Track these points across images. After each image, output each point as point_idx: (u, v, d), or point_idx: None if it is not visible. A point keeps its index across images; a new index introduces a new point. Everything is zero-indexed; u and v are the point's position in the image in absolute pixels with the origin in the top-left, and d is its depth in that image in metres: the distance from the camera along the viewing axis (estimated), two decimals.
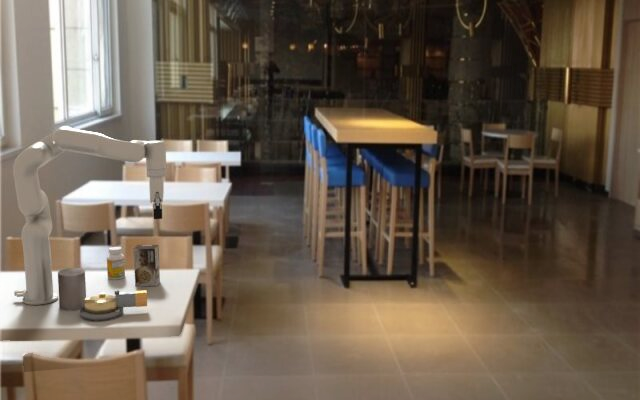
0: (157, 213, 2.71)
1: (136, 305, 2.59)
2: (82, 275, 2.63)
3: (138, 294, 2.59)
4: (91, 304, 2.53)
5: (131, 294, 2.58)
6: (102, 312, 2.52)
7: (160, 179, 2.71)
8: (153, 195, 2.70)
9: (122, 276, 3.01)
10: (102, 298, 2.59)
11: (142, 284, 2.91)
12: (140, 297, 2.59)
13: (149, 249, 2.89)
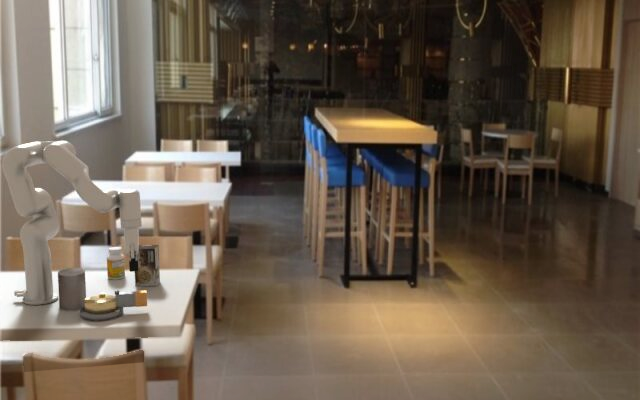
0: (133, 265, 2.65)
1: (136, 305, 2.59)
2: (82, 275, 2.63)
3: (138, 294, 2.59)
4: (91, 304, 2.53)
5: (131, 294, 2.58)
6: (102, 312, 2.52)
7: (134, 230, 2.60)
8: (128, 247, 2.60)
9: (122, 276, 3.01)
10: (102, 298, 2.59)
11: (142, 284, 2.91)
12: (140, 297, 2.59)
13: (149, 249, 2.89)
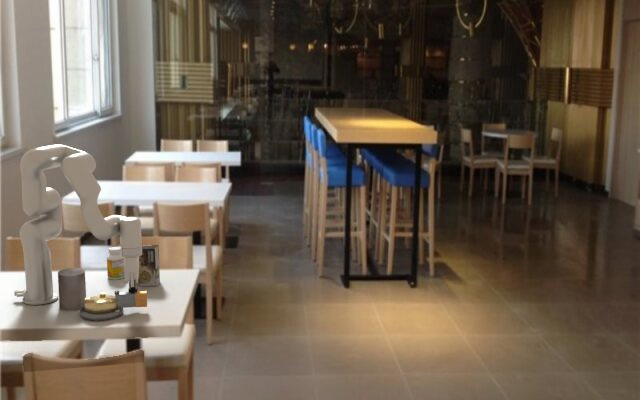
0: None
1: (136, 305, 2.59)
2: (82, 275, 2.63)
3: (138, 294, 2.58)
4: (91, 304, 2.53)
5: (131, 294, 2.58)
6: (101, 312, 2.52)
7: (135, 259, 2.56)
8: (127, 276, 2.56)
9: (122, 276, 3.01)
10: (102, 298, 2.59)
11: (142, 284, 2.91)
12: (140, 297, 2.59)
13: (149, 249, 2.89)
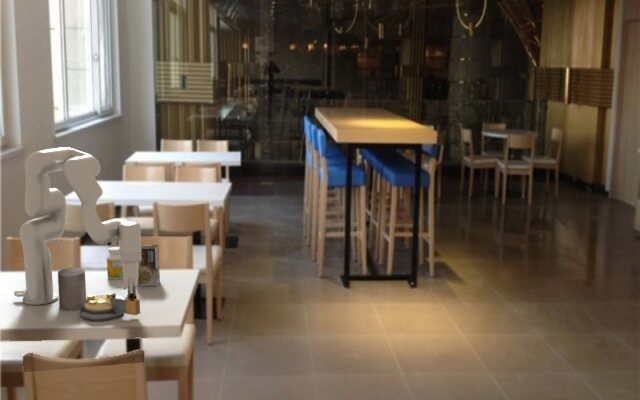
0: None
1: (127, 312, 2.52)
2: (82, 275, 2.63)
3: (128, 301, 2.51)
4: (86, 302, 2.55)
5: (123, 300, 2.52)
6: (91, 312, 2.52)
7: (134, 264, 2.50)
8: (126, 282, 2.50)
9: (122, 276, 3.01)
10: (105, 299, 2.59)
11: (142, 284, 2.91)
12: (129, 305, 2.51)
13: (149, 249, 2.89)
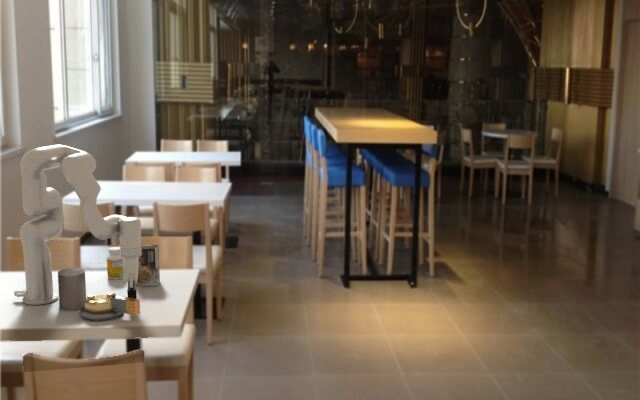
0: (131, 294, 2.60)
1: (127, 312, 2.52)
2: (82, 275, 2.63)
3: (128, 301, 2.51)
4: (86, 302, 2.55)
5: (122, 300, 2.52)
6: (91, 312, 2.52)
7: (134, 259, 2.55)
8: (126, 276, 2.55)
9: (122, 276, 3.01)
10: (105, 299, 2.59)
11: (142, 284, 2.91)
12: (129, 305, 2.51)
13: (149, 249, 2.89)
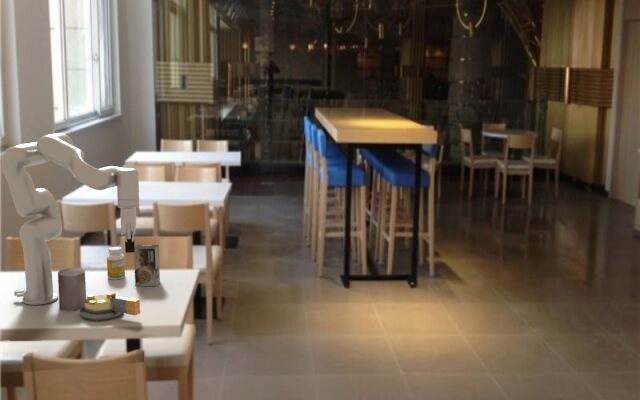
0: (129, 246, 2.57)
1: (127, 312, 2.52)
2: (82, 275, 2.63)
3: (128, 301, 2.51)
4: (86, 302, 2.55)
5: (122, 300, 2.52)
6: (91, 312, 2.52)
7: (132, 210, 2.52)
8: (124, 227, 2.52)
9: (122, 276, 3.01)
10: (105, 299, 2.59)
11: (142, 284, 2.91)
12: (129, 305, 2.51)
13: (149, 249, 2.89)
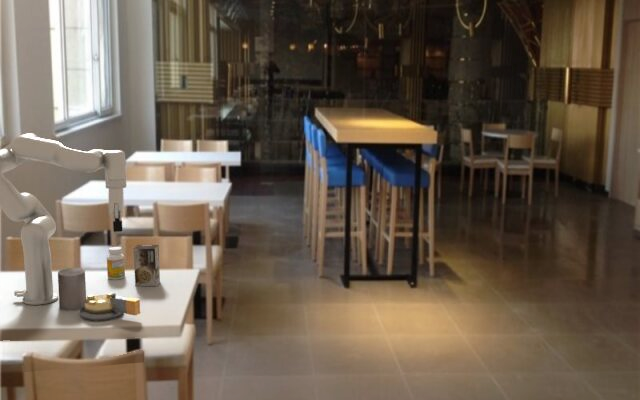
0: (117, 226, 2.68)
1: (127, 312, 2.52)
2: (82, 275, 2.63)
3: (128, 301, 2.51)
4: (86, 302, 2.55)
5: (122, 300, 2.52)
6: (91, 312, 2.52)
7: (119, 190, 2.63)
8: (112, 206, 2.63)
9: (122, 276, 3.01)
10: (105, 299, 2.59)
11: (142, 284, 2.91)
12: (129, 305, 2.51)
13: (149, 249, 2.89)
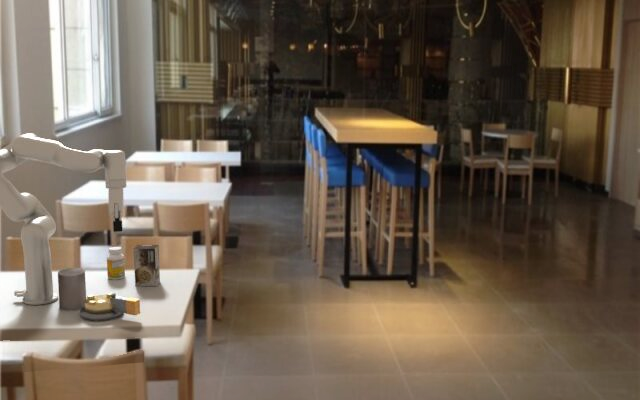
0: (117, 226, 2.68)
1: (127, 312, 2.52)
2: (82, 275, 2.63)
3: (128, 301, 2.51)
4: (86, 302, 2.55)
5: (122, 300, 2.52)
6: (91, 312, 2.52)
7: (119, 190, 2.63)
8: (112, 206, 2.63)
9: (122, 276, 3.01)
10: (105, 299, 2.59)
11: (142, 284, 2.91)
12: (129, 305, 2.51)
13: (149, 249, 2.89)
